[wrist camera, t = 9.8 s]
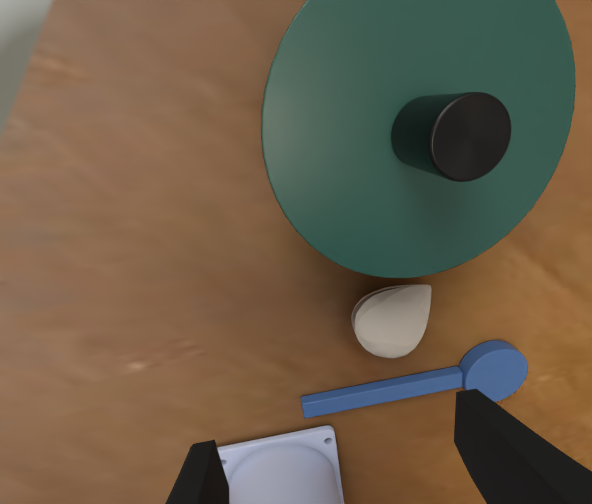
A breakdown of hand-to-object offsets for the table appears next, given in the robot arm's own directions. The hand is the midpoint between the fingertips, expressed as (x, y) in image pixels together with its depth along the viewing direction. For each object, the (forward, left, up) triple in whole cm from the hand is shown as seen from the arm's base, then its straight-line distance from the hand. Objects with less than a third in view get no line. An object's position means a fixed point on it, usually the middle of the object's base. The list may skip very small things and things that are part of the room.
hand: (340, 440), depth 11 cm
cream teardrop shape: (-2, -5, -11) cm, 12 cm away
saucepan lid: (+8, -4, -5) cm, 10 cm away
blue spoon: (-8, -6, -10) cm, 15 cm away
